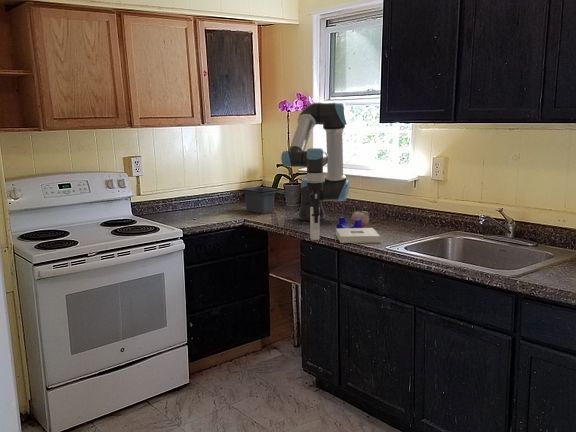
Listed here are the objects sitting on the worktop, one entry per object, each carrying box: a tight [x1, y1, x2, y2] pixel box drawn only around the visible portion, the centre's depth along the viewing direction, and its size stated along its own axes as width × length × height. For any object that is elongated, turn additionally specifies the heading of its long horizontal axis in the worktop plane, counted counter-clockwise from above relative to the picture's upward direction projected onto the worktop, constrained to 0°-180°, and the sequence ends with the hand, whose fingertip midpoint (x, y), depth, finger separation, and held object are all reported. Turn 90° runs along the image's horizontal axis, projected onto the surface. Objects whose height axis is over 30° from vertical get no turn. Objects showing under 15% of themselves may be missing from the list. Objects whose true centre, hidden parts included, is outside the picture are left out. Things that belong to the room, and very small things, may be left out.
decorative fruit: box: [350, 209, 370, 228], centre depth 283 cm, size 9×8×10 cm
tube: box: [309, 207, 320, 241], centre depth 259 cm, size 4×4×15 cm
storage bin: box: [242, 186, 277, 215], centre depth 335 cm, size 21×16×14 cm
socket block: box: [335, 227, 381, 244], centre depth 261 cm, size 18×18×3 cm
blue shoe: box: [336, 216, 361, 228], centre depth 279 cm, size 12×4×6 cm, turn 45°
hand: (314, 226), depth 260 cm, fingers open, 13 cm apart
